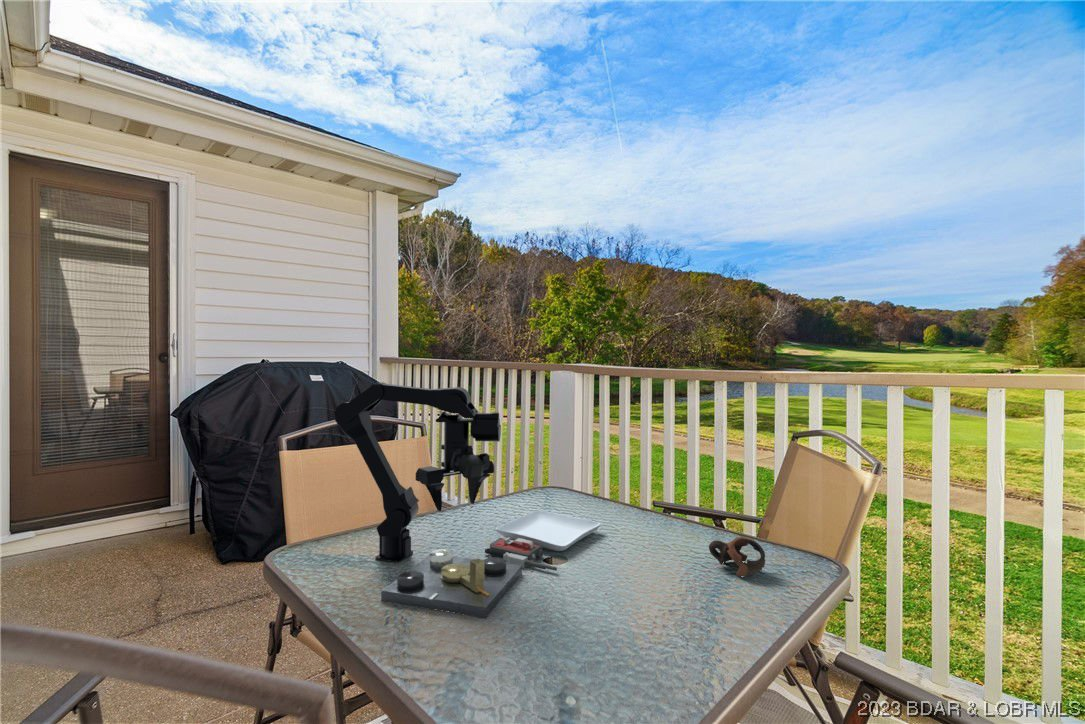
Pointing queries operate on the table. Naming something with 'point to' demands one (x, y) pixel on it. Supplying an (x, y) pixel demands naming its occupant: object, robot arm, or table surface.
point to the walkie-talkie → (518, 552)
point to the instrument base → (452, 585)
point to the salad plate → (548, 529)
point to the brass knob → (465, 574)
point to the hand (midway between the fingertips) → (456, 507)
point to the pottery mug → (738, 555)
